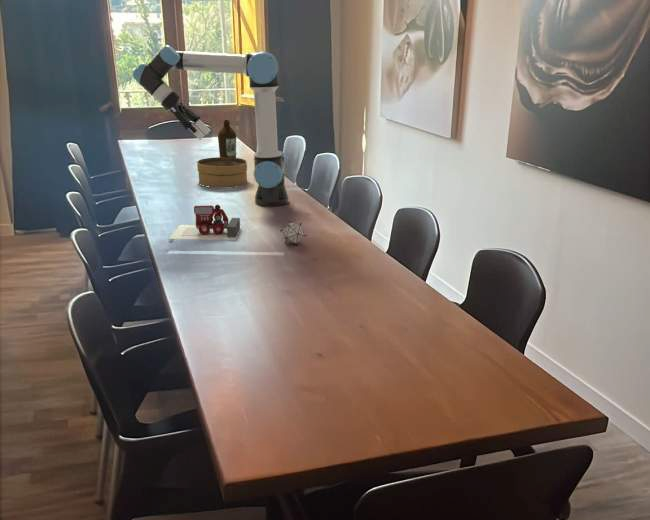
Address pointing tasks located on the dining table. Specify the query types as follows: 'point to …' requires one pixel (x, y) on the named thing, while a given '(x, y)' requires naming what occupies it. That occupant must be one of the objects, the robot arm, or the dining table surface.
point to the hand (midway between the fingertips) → (205, 135)
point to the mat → (198, 234)
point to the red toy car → (210, 219)
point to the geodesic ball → (293, 233)
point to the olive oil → (227, 141)
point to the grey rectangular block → (233, 227)
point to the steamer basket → (222, 172)
